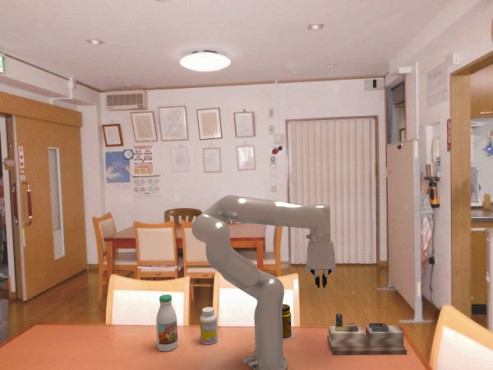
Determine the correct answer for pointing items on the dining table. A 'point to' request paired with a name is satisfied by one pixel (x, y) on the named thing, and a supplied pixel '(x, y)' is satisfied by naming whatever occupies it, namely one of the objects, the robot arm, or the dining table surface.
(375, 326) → the lock hardware
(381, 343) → the grey brown double block
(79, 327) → the dining table surface
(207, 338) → the supplement bottle
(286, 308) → the condiment
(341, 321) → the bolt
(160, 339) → the milk bottle
